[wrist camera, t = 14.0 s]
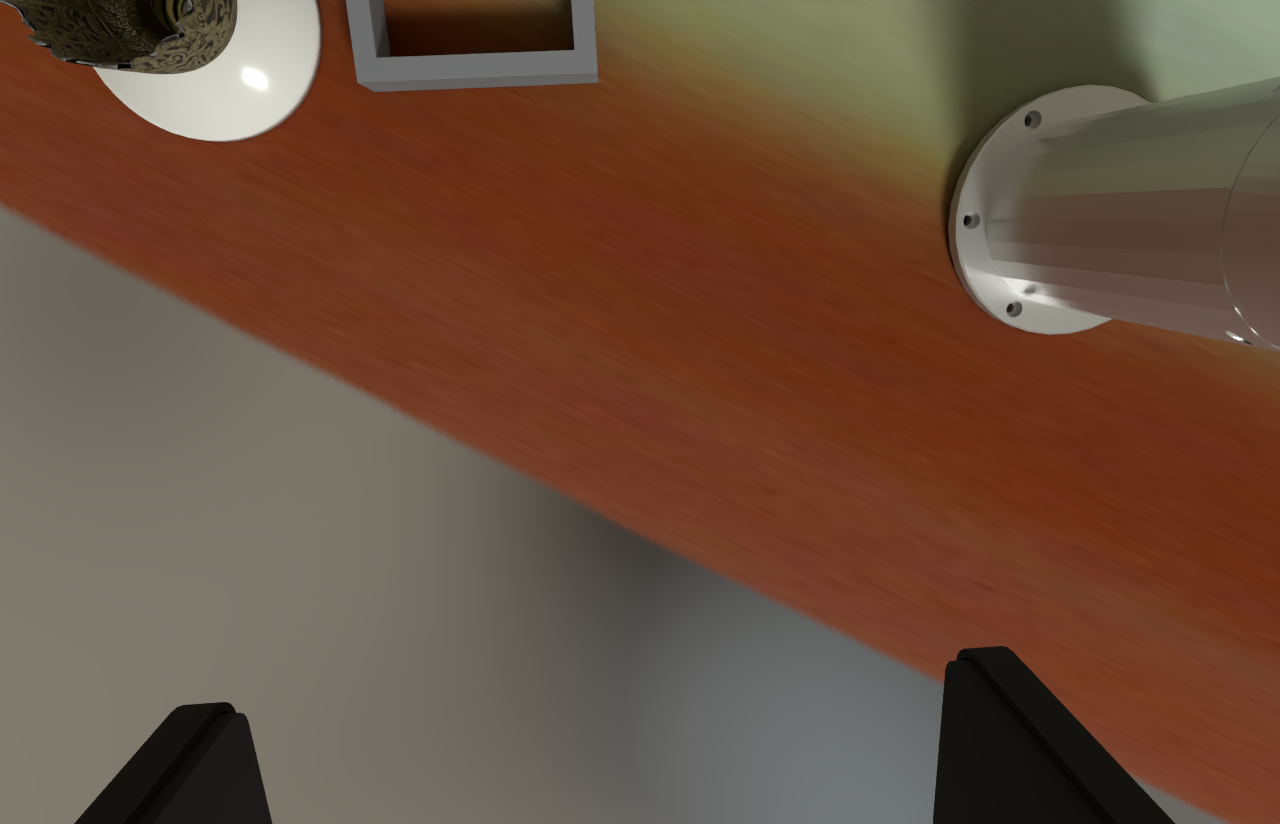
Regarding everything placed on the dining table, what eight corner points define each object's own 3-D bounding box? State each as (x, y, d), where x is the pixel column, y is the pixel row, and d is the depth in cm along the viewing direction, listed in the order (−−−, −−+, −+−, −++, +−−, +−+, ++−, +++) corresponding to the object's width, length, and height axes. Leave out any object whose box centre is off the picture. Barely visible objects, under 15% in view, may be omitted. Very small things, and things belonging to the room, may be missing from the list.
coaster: (300, -121, 32) (293, -129, 31) (340, 137, 35) (334, 135, 34) (53, -113, 32) (39, -121, 31) (114, 147, 35) (102, 145, 34)
